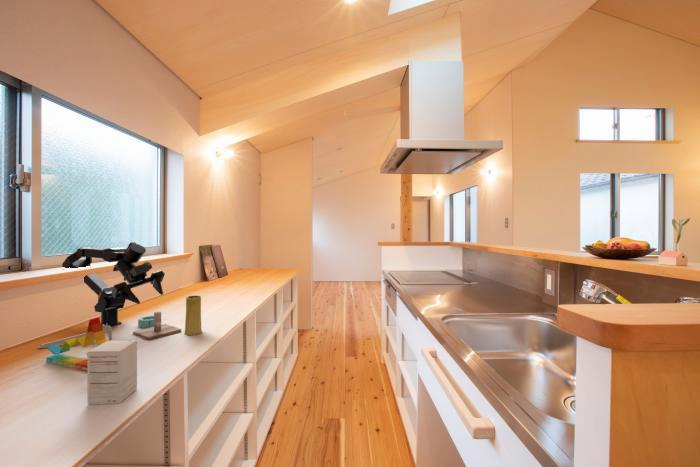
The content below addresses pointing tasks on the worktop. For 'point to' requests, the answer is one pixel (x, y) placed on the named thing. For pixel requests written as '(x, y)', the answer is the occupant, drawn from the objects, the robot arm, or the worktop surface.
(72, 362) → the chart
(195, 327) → the vase
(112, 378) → the supplement box
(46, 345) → the caliper
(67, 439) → the worktop surface
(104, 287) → the robot arm
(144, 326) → the ring
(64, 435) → the worktop surface
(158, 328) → the post stand
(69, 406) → the worktop surface
